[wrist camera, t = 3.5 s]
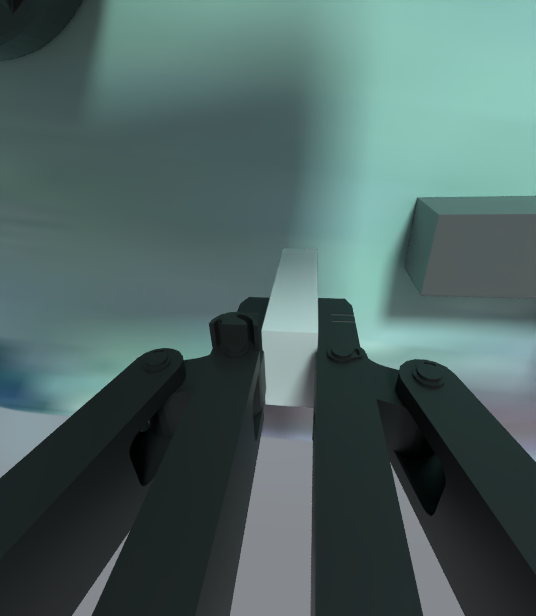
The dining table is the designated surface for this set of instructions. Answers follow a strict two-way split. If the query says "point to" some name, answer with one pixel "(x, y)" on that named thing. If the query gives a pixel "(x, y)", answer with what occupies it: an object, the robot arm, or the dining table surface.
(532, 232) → the plug
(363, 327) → the dining table surface
